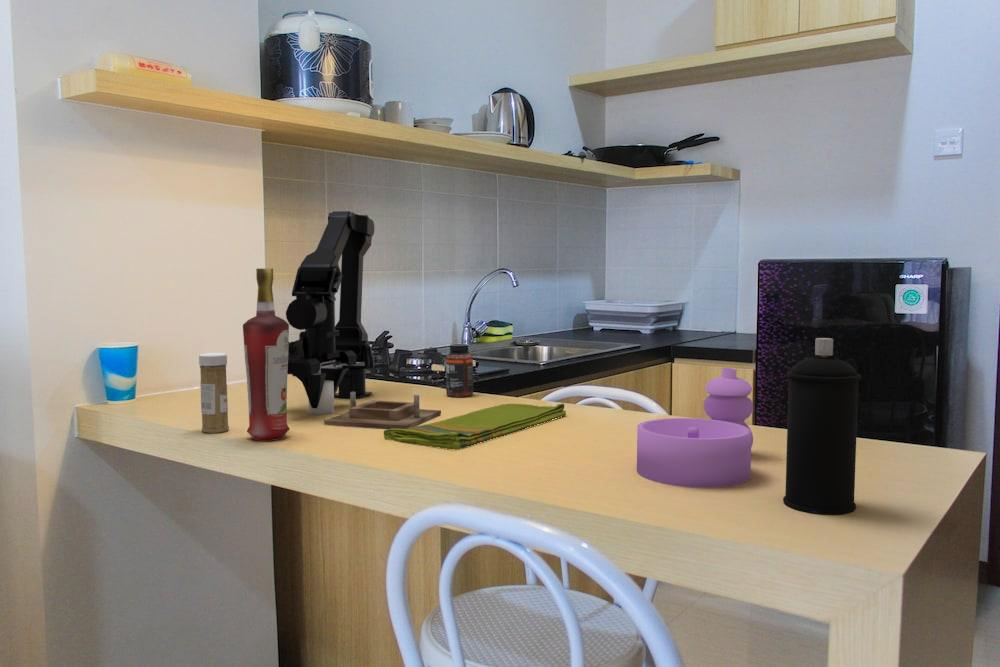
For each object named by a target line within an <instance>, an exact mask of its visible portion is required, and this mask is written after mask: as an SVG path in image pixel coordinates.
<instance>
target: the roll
mask: <svg viewBox="0 0 1000 667" xmlns="http://www.w3.org/2000/svg"><path fill="white" fill-rule="evenodd" d="M334 413H335V397H334V381H331V380H325V381H324V385H323V389H322V393H321V397H320V401H319V404H318V407H317V408H312V407H311V405H310V402H309V401H308V414H310V415H319V416H320V415H330V414H334Z"/></svg>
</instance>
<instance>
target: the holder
mask: <svg viewBox="0 0 1000 667" xmlns="http://www.w3.org/2000/svg"><path fill="white" fill-rule="evenodd" d="M349 400H350V403H349V404H350V408H348V412H345V413H342V414H341V413H340V414H338V415H336V416H333V417H330V418H327V419H325V420H324V425H327V426H340V427H354V428H367V429H381V430H382V429H383V430H388V429H391V428H393V429H406V428H411V427H416V426H420V425H421V424H423V423H425V422H428V421H430V420H432V419H434V418H436V416H437V417H438V415H439V416H441V415H442V410H440V409H424V408H423V409H421V408H420V395H419V394H415V395H413V402H411V401H410V402H409V401H408V402H407V401H391V400H390V401H389V400H376V399H375V400H373V399H372V400H370V401H367V402H364V403H362V404H359V405H357V401H356V400H357V398H356V392H350V398H349ZM440 414H441V415H440Z"/></svg>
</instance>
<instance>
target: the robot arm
mask: <svg viewBox="0 0 1000 667" xmlns="http://www.w3.org/2000/svg"><path fill="white" fill-rule="evenodd" d="M374 234H375V223H374V220H373V219H371V218H370V217H369V216H368V214H357V213H355V212H352V211H350V210H348V211H347V210H344V211H343V210H341V211H340V210H335V211H331V212H329V213H328V215H327V224H326V227H325V229H324V231H323V234H322V235H321V237H320V240H319V242H318V244H317V247H316V249H315V251H313V252H311V253H308V254H307V255H306V256H305V257H304V258H303V259H302V261H301V263H300V265H299V266H298V268H297V272H296V275H295V279H294V282H293V287H292V291H291V297H296V298H295V299H294V300H292V301H291V302H290V303H289V304H288V306H287V308H286V310H285V316H286V320H287V321H286V322H287V323H288V324H289V326H291V327H292V328H294V329H296V330H299V331H300V330H301V331H300V333H299V334H298V336H299V338H298V340H294V341H291V342H290V341H289V342H288V372H287V375H292V376H293V377H295V378H297V379H298V380H299V381H300V382H301V383H302V385H303V387H304V390H305V393H306V396H307V398H308V403H309V402H310V405H311V407H312V408H317V407H318V404H319V401H320V397H321V393H322V389H323V385H324V381H325V380H331V381H334V398H335V397H336V398H349V399H350V392H356V399H360V398H363V397H367V396H370V395H372V394H373V391H366V370H369V369H374V368H375V357H374V353H373V349H372V347H371V345H370V341H369V335H368V333H367V331H366V329H365V327H364V325H363V324H362V305H363V304H362V301H363V297H362V296H363V273H364V257H365V255H366V254H367V252H368V250H369V249H370V247H371V246H372V240H373V239H372V238H373V236H374ZM340 259H341V268H340V265H339V262H340ZM339 289H340V293H339V294H340V295H339V312H338V313H339V317H338V322H337V323H336V306H335V301H336V300H337V298H336V296H335V295H336V294H337V293H338V291H339Z"/></svg>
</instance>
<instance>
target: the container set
mask: <svg viewBox="0 0 1000 667" xmlns="http://www.w3.org/2000/svg"><path fill="white" fill-rule="evenodd" d="M704 388H705V391H706V392H707V393H708V394H709V395H708V396H706V397H705V399H704V400H703V405H702V406H703V410H704V412H705V414H706V415H707V417H709V418H710V419H709V418H695V417H693V418H691V417H674V418H673V417H671V418H668V417H667V418H657V419H651V420H647V421H646V420H645V421H643V422H640V423H639V424H637V426H636V427H637V433H636V434H637V435H636V437H637V438H636V473H637V474H638V475H639V476H640V477H641V478H644V479H646V480H649V481H651V482H654V483H658V484H659V483H660V484H664V485H670V486H677V487H686V488H707V489H708V488H725V487H726V488H727V487H733V486H738V485H741V484H745V483H747V482H748V481H750V478H751V474H752V473H751V472H752V470H751V469H752V468H751V467H752V466H751V465H752V447H753V443H754V436H753V432H752V429H751V427H750V426H749V424H747V423H746V422H745V421H746V420H747V419H748V418H750V417H751V415H752V413H753V412H754V404H753V401H752V399H751V398H749V397H748V396H750V395H751V393H752V391H753V389H752V388H753V387H752V386H751V383H750V382H748V380H747V381H746V380H745V379H744V378H739V377H737V368H732V367H728V368H727V367H725V368H724V367H723V368H721V376H719V377H715V378H712V379H711V380H709V381H708V382H707V383H706V385H705V387H704Z"/></svg>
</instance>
